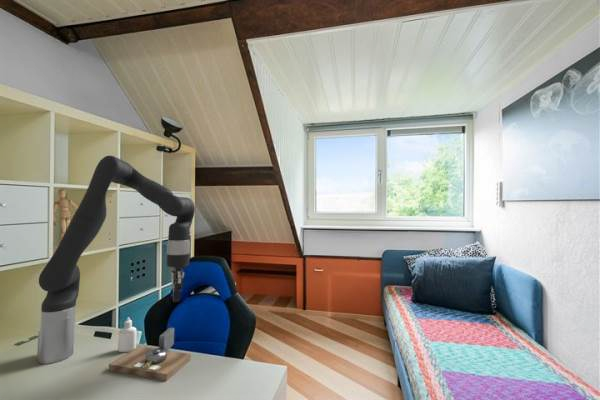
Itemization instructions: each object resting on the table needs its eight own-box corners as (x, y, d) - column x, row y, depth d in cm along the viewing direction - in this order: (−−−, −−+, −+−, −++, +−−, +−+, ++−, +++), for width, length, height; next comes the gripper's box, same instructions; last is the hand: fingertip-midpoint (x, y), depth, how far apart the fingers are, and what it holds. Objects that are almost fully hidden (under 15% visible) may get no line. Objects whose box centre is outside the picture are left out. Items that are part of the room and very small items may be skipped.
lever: (136, 367, 85) (137, 348, 86) (163, 343, 101) (163, 327, 101) (156, 368, 85) (157, 349, 85) (179, 344, 101) (180, 327, 101)
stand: (108, 370, 88) (109, 363, 88) (138, 351, 99) (138, 345, 99) (166, 380, 83) (166, 372, 83) (190, 359, 94) (190, 353, 95)
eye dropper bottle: (127, 354, 97) (128, 320, 98) (116, 351, 99) (117, 318, 100) (137, 348, 101) (139, 316, 102) (127, 346, 103) (128, 314, 104)
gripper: (192, 254, 92) (190, 305, 92) (186, 249, 104) (185, 294, 103) (168, 255, 88) (166, 309, 88) (165, 250, 100) (163, 297, 99)
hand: (176, 301), depth 95 cm, fingers closed
